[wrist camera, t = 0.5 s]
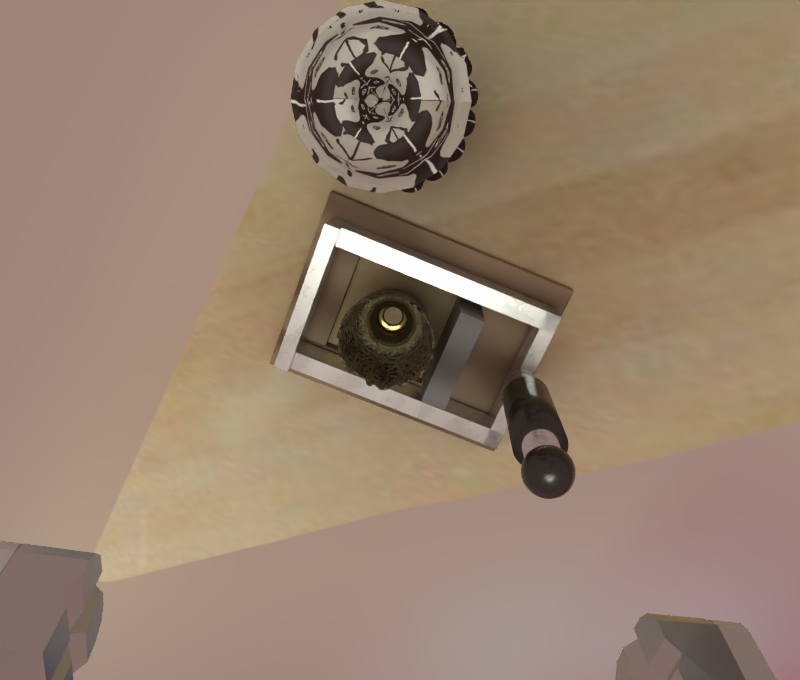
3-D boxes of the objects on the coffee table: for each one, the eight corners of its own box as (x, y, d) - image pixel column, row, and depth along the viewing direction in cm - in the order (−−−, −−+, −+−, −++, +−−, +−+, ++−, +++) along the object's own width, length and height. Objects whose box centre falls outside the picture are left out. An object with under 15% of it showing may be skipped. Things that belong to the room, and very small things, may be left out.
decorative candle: (469, 48, 50) (491, -25, 26) (463, 173, 53) (479, 208, 29) (350, 47, 51) (266, -25, 27) (351, 171, 54) (276, 204, 30)
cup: (333, 318, 57) (316, 347, 50) (387, 255, 55) (378, 276, 48) (398, 372, 59) (391, 408, 51) (453, 312, 57) (455, 341, 49)
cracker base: (332, 190, 54) (319, 198, 48) (571, 288, 55) (585, 307, 50) (272, 359, 59) (254, 384, 53) (492, 446, 60) (497, 479, 54)
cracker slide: (333, 216, 53) (275, 262, 35) (569, 313, 55) (631, 405, 36) (284, 351, 57) (209, 454, 39) (506, 438, 58) (534, 578, 40)
